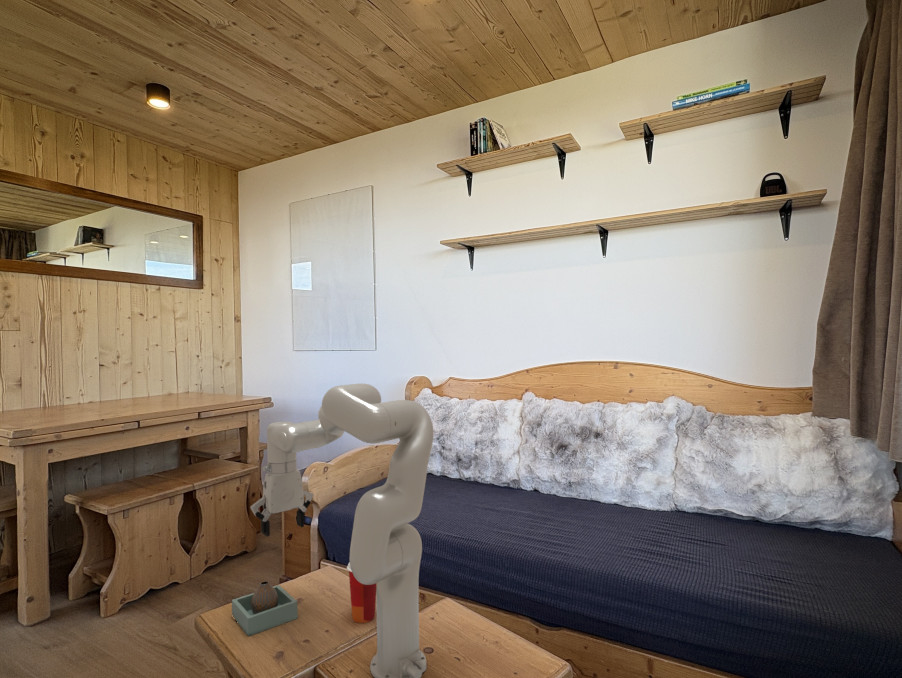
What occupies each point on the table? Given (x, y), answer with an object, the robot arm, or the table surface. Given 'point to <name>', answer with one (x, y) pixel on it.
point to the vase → (264, 598)
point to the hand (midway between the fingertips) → (283, 530)
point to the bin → (264, 613)
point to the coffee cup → (362, 599)
